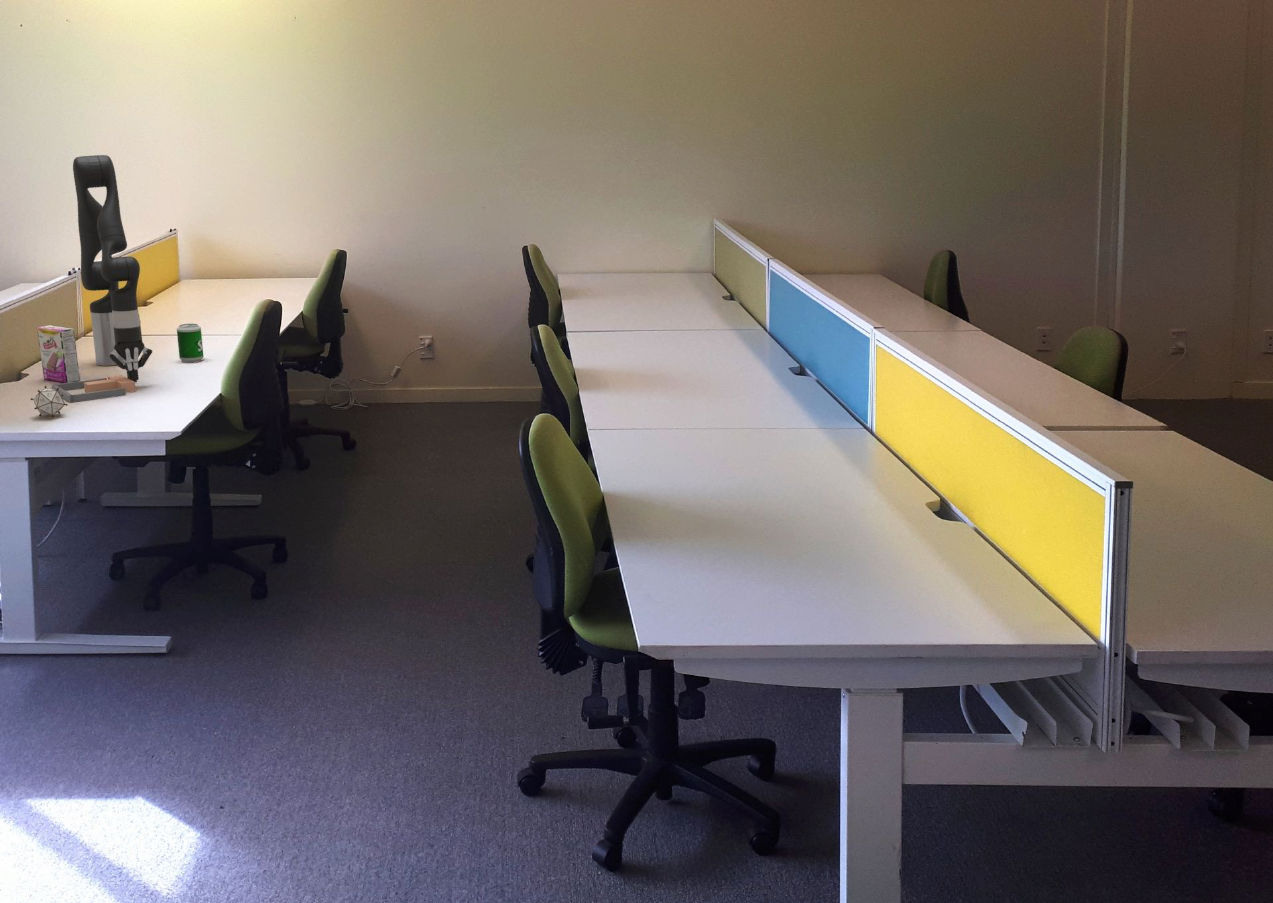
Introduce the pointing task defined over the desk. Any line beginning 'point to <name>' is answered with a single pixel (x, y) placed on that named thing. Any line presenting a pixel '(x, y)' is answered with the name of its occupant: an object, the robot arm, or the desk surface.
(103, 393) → the charcoal bay
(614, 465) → the desk surface
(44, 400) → the game die
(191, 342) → the soda can
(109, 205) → the robot arm
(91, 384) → the T block
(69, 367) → the candy bar box
